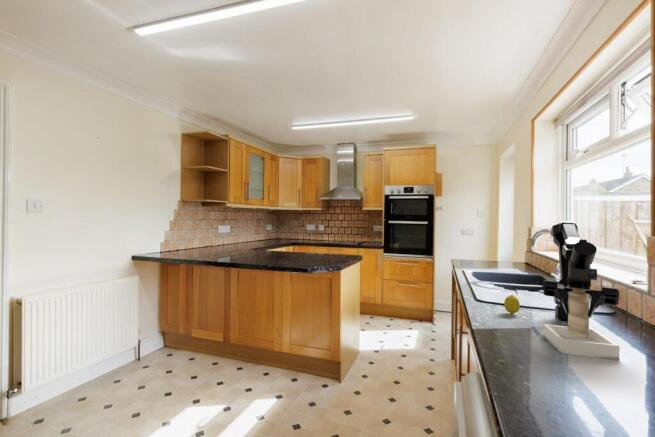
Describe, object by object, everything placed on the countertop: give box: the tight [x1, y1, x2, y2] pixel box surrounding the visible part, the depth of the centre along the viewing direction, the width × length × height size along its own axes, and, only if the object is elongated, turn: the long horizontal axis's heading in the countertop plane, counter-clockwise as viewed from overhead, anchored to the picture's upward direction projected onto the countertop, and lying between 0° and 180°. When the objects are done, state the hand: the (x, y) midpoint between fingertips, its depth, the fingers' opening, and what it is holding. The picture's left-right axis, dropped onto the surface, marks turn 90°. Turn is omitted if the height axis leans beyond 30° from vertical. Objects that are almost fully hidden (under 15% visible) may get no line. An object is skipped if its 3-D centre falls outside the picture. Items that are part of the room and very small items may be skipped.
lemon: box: [503, 294, 521, 315], centre depth 129 cm, size 6×6×8 cm
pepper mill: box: [567, 288, 590, 338], centre depth 97 cm, size 5×5×14 cm
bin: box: [543, 323, 620, 361], centre depth 97 cm, size 14×14×4 cm
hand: (578, 315), depth 96 cm, fingers closed on pepper mill, 5 cm apart
